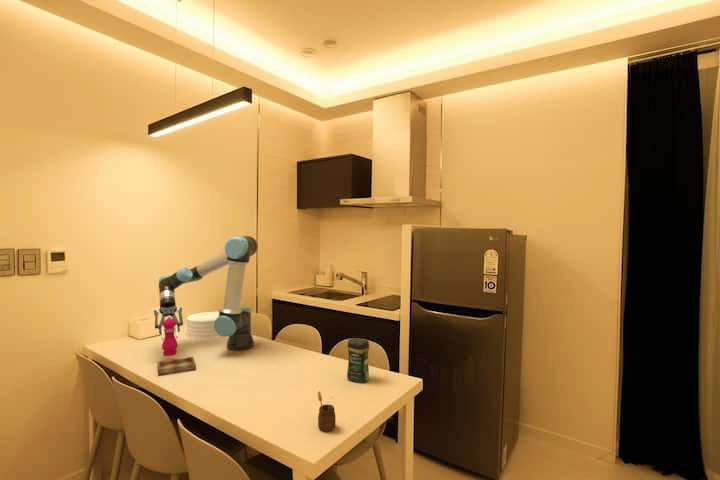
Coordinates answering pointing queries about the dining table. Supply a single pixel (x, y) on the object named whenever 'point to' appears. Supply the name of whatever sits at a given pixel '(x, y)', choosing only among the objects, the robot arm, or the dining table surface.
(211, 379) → the dining table surface
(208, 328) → the plate stack
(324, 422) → the utensil holder
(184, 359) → the tray
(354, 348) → the coffee jar
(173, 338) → the pepper mill
